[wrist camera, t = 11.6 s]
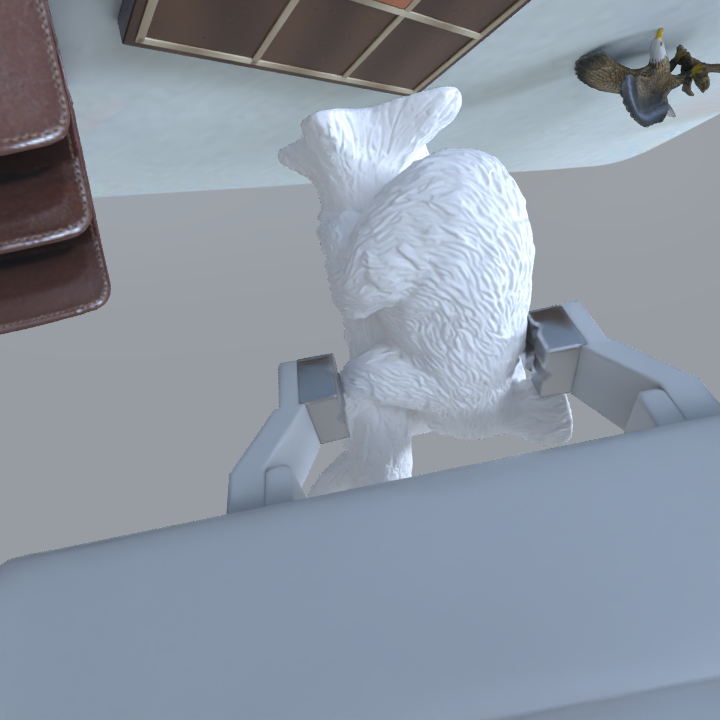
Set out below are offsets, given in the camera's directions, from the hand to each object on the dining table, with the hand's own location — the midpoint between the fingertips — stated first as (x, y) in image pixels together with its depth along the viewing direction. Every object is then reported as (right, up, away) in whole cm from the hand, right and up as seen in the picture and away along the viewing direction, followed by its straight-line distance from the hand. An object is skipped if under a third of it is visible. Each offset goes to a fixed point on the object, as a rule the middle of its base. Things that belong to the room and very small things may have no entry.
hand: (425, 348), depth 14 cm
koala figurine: (-1, +7, 0) cm, 7 cm away
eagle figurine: (+20, +24, +25) cm, 40 cm away
